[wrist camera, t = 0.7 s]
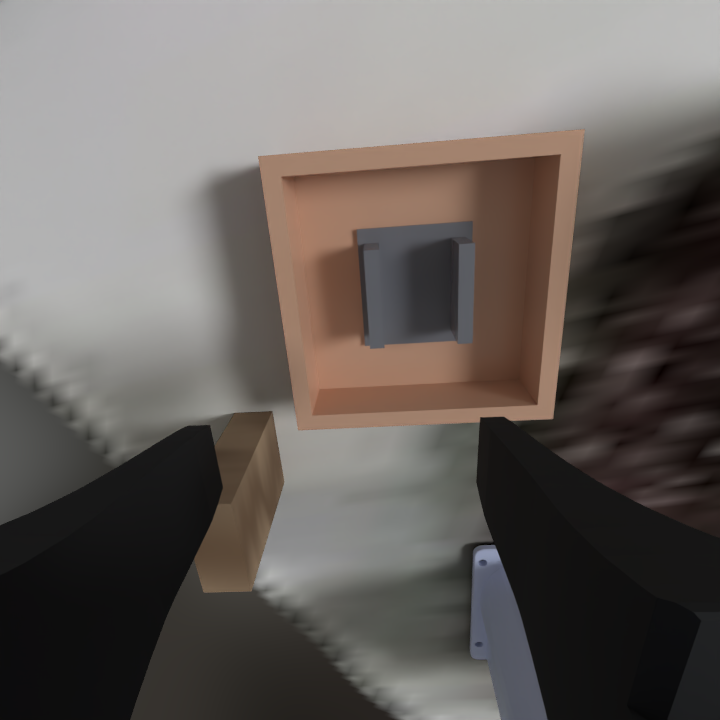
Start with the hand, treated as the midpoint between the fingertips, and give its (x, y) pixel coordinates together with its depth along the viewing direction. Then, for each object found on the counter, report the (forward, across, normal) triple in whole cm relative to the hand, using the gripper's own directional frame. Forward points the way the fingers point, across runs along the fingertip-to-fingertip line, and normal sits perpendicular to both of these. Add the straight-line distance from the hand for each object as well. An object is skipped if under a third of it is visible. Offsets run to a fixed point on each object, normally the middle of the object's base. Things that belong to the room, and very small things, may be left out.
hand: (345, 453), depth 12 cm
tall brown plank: (+10, +6, +6) cm, 13 cm away
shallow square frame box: (+10, -3, -2) cm, 10 cm away
